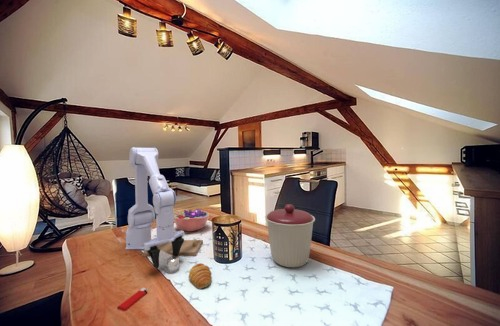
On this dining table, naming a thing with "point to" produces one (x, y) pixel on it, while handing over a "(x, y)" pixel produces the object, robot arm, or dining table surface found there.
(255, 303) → the dining table surface
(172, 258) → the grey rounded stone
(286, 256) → the canister
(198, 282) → the pastry
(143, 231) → the robot arm
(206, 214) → the cell model
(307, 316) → the dining table surface
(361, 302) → the dining table surface
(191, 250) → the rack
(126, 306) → the lighter
